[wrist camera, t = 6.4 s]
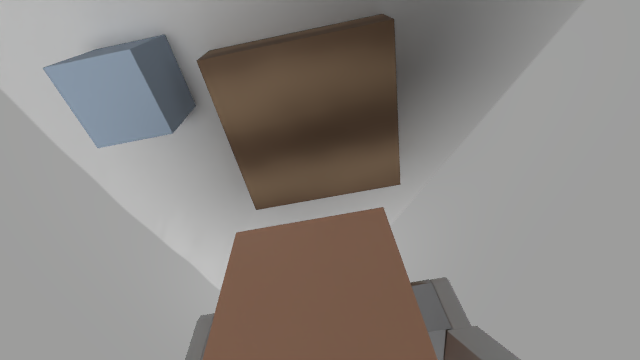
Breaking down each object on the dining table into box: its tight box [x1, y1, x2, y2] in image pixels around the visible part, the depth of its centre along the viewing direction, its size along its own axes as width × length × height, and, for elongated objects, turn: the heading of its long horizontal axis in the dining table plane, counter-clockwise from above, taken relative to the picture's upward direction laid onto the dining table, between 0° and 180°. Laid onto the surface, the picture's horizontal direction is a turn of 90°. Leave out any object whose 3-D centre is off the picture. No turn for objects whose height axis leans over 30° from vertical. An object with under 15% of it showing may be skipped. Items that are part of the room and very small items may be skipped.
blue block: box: [43, 35, 196, 148], centre depth 19 cm, size 5×5×5 cm
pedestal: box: [197, 14, 400, 210], centre depth 22 cm, size 12×12×3 cm
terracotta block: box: [202, 207, 438, 360], centre depth 9 cm, size 5×5×5 cm
